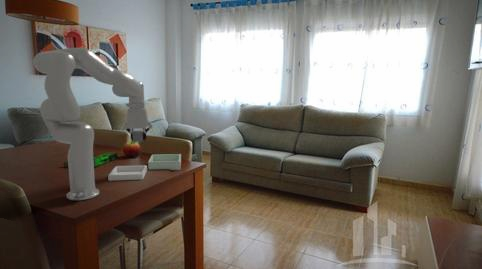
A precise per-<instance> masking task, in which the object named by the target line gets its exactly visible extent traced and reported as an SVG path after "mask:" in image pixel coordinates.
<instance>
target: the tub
mask: <svg viewBox="0 0 482 269" xmlns="http://www.w3.org/2000/svg"><path fill="white" fill-rule="evenodd" d="M147 171H148V164H147V165H145V164H144V165H116V166H115V167H114V168H113V169H112V170H111V171H110V172H109V174H107V177H108V181H134V180H135V181H137V180H143V179H144V178H145V176H146V174H147Z"/></svg>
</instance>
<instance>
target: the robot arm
mask: <svg viewBox="0 0 482 269" xmlns="http://www.w3.org/2000/svg"><path fill="white" fill-rule="evenodd" d="M32 63H33V65H34V66H33V67H34V68H35V70H37V72H39V73H41V74H44V75H46V77H45V79H44V91H45V93H46V95H47V98H46V99H44V100H43V101H42V103H41V105H40V107H39V108H40V109H39V111H40V115H41V118H42V120H43V122H44V124H45V125H46V127H47V130H48V131H49V133H50V135H51V137H52V138H53V139H54V140H55V141H56V142H57V143H61V144H67V145H70V147H69V149H68V151H67V162H68V167H67V168H68V178H69V188H70V189H69V190H70V191H69V192H67V193H66V199H68V200H70V201H85V200H90V199H93V198H96V197H97V196H99V194H100V190H99V188H96V183H95V182H96V180H95V167H94V161H93V156H94V141H95V131H94V128H93V127H92V126H91V125H90V124H88V123H86V122H82V121H78V120H79V119H80V118H81V114H82V111H81V107H80V106H79V103H78V102H77V99H76V97H75V94H74V93H73V90H72V88H71V81H70V80H71V77H72V74H73V73H74V72H75V69H80V70H82V71H83V72H84V73H86V74H87V75H89V76H90V77H92V78H93V79H95V80H96V81H98V82H99V83H102V84H104V85H105V84H106V85H110V86H112V89H111V91H112V93H113V94H114V95H115V96H116V97H119V98H128V103H125V106H126V107H128V108H127V109H126V111H127V112H126V122H125V124H124V125H123V127H122V128H123V129H124V130H126V131H127V132H128V133H129V134H130V140H131V142H132V141H133V135H132V132H133V131H135V130H134V129H141V130H143V142H145V141H146V140H147V132H149V131H150V130H151V129H152V128H153V125H152V123H151V122H150V121H149V116H148V113H147V112H148V111H147V108H145V88H144V83H143V82H142V81H137V79H135V78H134V77H133V76H131V75H130V74H128V73H126V72H125V71H122V70H119V69H117V68H115V67H114V66H111V65H109V64H108V63H107V62H105V61H104V60H103V59H102V58H101V57H99V56H98V55H97V54H96V53H94V52H93V51H92V50H90V49H88V48H85V47H67V48H61V49H56V50H55V49H53V50H48V51H46V50H45V51H40V52H38V53H37V54H36V55H35V56H34V58H33V62H32Z"/></svg>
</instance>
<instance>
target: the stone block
mask: <svg viewBox="0 0 482 269" xmlns="http://www.w3.org/2000/svg"><path fill="white" fill-rule="evenodd" d="M132 135H133V142H136V143H139V142H140V143H141V142H144V141H143V129H141V130H133V132H132Z"/></svg>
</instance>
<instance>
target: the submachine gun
mask: <svg viewBox="0 0 482 269" xmlns="http://www.w3.org/2000/svg"><path fill="white" fill-rule="evenodd" d="M119 154H120V153H118V152H104V154H100V155H93V161H94V168H96V167H98V166H101V165H103V164H106V163H108V162H112V161H115V159H116V160H117V159H120V157H119V156H118V155H119ZM63 167H64V168H69V167H68V161H63Z"/></svg>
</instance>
